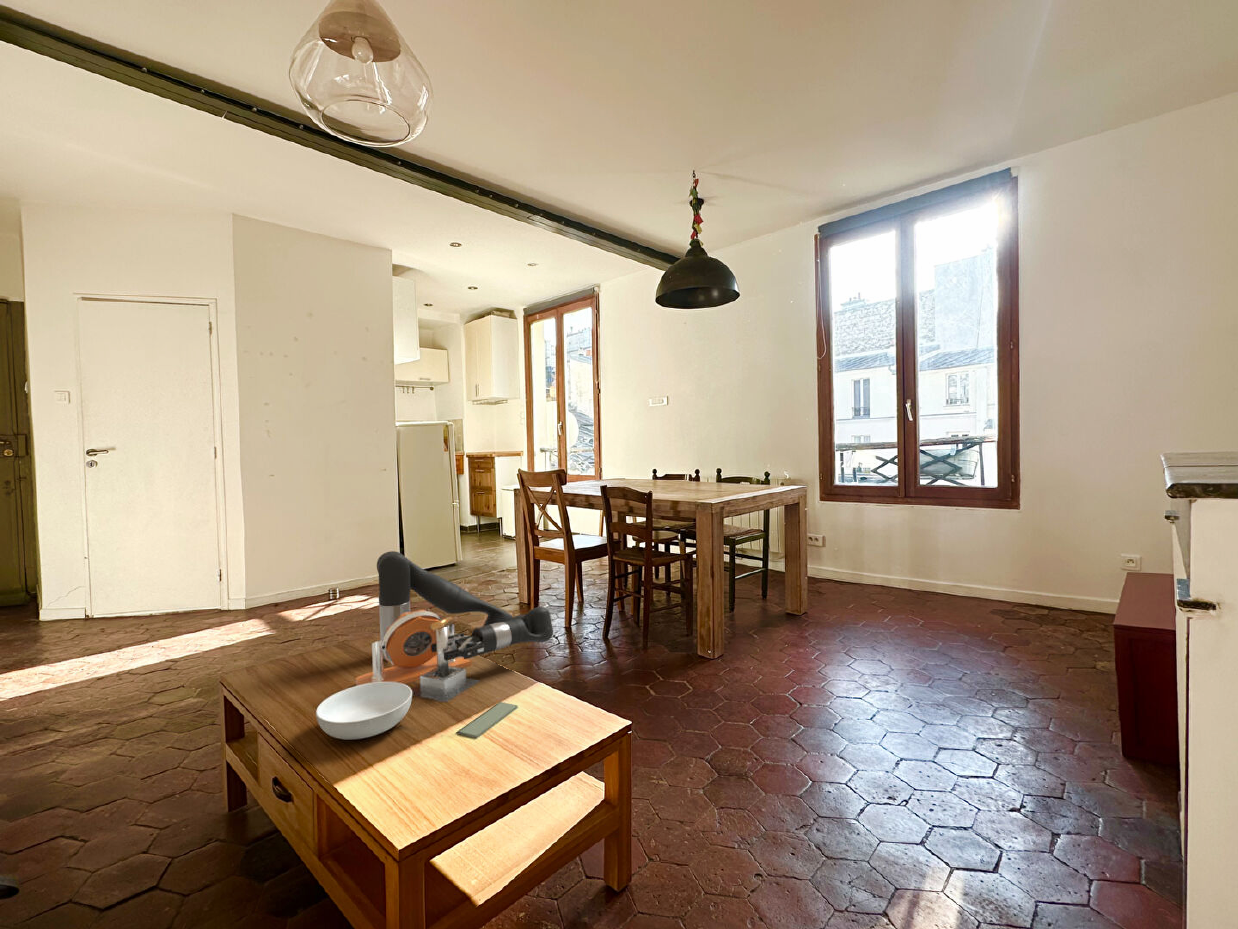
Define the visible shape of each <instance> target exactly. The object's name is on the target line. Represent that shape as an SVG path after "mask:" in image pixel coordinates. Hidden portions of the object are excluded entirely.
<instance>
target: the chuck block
mask: <svg viewBox="0 0 1238 929" xmlns="http://www.w3.org/2000/svg"><path fill="white" fill-rule="evenodd" d="M449 673H450V675H448V676H447V677H445V678H441V677H436V675H437V668H435V669H433V670H431V671H429V672H427V673H425V674H423V675H421V676H420V680H419V681H420V685H418V686H416V687H414V688H412V689H411V690H412V696H415V697H420V698H423V699H430V700H433V701H438V702H442V703H447V702H448V701H450V700H452V699H454V698H455V697H457V696H458V695H460V694H461V693H463V692H465V691H467V690H468V689H470V688H472V687H473V686H474V685H476V684H478V683H479V682H481V680H478V679H474V678H469V677H467V675H466V674H467V672H466V668H458V667H452V666H449Z"/></svg>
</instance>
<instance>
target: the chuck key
mask: <svg viewBox="0 0 1238 929" xmlns="http://www.w3.org/2000/svg"><path fill="white" fill-rule="evenodd" d="M441 619H442V618H441ZM453 623H454V617H452V616H451V615H450V616H447V617H445V618H443V619H442V620H439V621H437V622H435V623H432V624H430V630H431V631H435V630H436V645H437V655H436V656H437V675H436V677H441V678H445V677H447V676H448V675H450V673H449V660H447V661H446V660H444V652H446V651H448V628H447V626H448V625H451V624H453Z"/></svg>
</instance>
